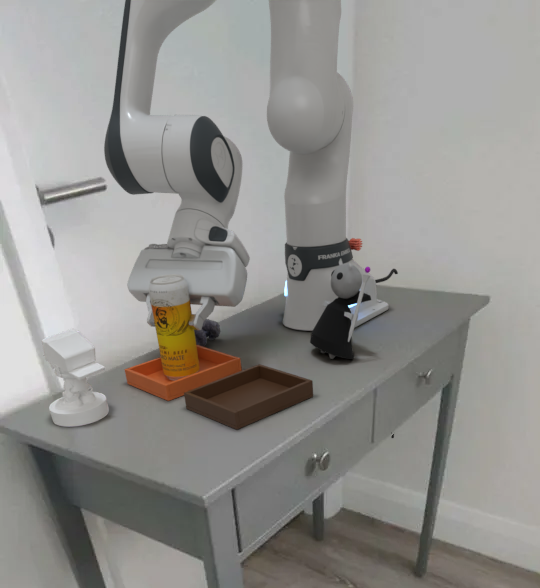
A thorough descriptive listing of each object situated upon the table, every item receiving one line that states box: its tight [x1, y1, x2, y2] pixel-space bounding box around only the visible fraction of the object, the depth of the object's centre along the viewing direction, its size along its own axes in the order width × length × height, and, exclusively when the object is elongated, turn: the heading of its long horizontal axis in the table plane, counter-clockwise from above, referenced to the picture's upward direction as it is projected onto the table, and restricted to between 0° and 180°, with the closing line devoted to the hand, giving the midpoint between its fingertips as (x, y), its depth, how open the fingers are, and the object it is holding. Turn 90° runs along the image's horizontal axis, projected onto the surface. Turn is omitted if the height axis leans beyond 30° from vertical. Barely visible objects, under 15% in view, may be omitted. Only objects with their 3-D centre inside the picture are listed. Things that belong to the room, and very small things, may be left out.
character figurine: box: [41, 328, 110, 428], centre depth 95 cm, size 9×10×12 cm
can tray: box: [124, 345, 243, 402], centre depth 108 cm, size 15×12×2 cm
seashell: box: [194, 318, 221, 347], centre depth 120 cm, size 5×5×10 cm
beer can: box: [149, 274, 200, 381], centre depth 103 cm, size 6×6×15 cm
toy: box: [309, 258, 371, 360], centre depth 108 cm, size 12×7×15 cm, turn 22°
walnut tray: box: [183, 363, 314, 430], centre depth 97 cm, size 15×12×2 cm
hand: (173, 326), depth 103 cm, fingers open, 7 cm apart
